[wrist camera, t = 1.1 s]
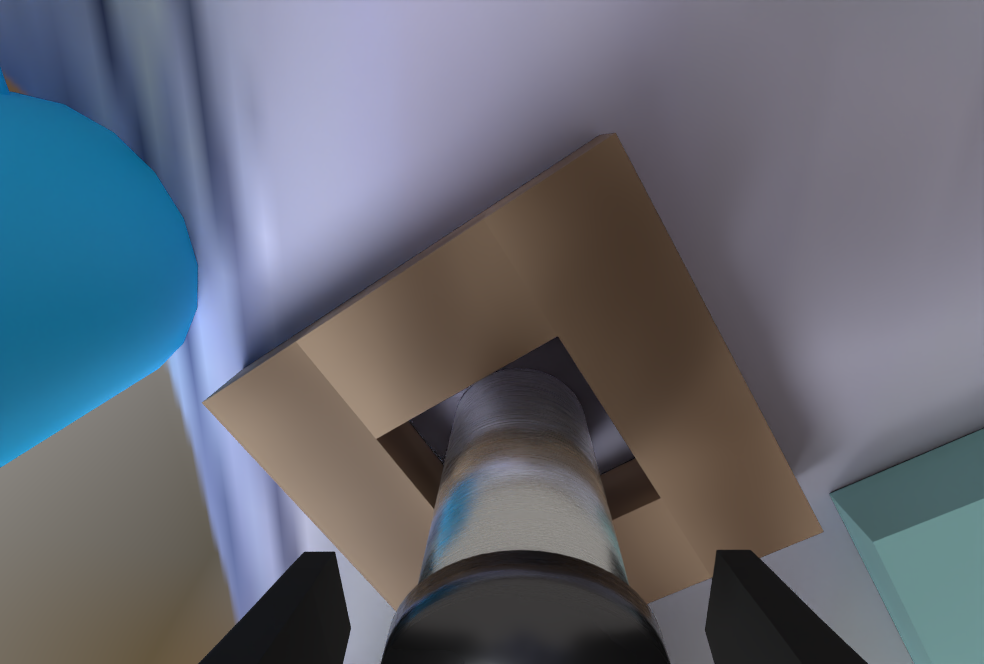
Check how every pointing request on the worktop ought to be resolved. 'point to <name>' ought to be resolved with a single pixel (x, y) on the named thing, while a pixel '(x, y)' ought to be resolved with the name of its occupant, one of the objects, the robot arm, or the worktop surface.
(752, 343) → the worktop surface
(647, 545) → the mount board
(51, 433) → the mug
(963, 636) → the socket board
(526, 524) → the lock pin
